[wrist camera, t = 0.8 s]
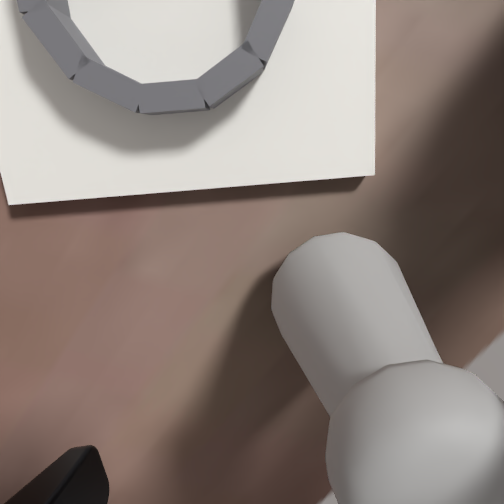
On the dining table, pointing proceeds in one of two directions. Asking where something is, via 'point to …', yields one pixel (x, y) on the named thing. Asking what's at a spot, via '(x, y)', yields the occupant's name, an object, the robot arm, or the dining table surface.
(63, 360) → the dining table surface
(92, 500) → the robot arm
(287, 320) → the salt shaker
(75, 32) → the ring holder
